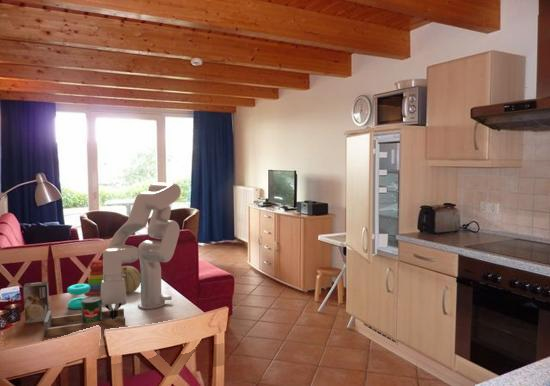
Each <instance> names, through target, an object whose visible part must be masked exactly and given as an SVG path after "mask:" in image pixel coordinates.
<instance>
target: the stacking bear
mask: <svg viewBox="0 0 550 386" xmlns="http://www.w3.org/2000/svg"><path fill="white" fill-rule="evenodd" d="M89 268H90V273H89V275H88V279H87V284H88V285H90V290H89V291H88V292H87V293H85V294H84V295H86V296H87V297H92V296H99V297H101V283H102V280H104V276H103V259H100V260H99V259H98V260H97V259H95V260H93V261H92V262H91V263H90V264H89Z"/></svg>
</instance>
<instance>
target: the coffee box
mask: <svg viewBox="0 0 550 386" xmlns="http://www.w3.org/2000/svg"><path fill="white" fill-rule="evenodd" d="M22 289H23V306H24V323H26V324H32V323H38V322H39V323H41V322H44V321H45V318H46V315H47V313H48V311H51V310H50V294H49V281H47V280H46V281H36V282H28V283H24V285H23V288H22Z"/></svg>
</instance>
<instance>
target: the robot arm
mask: <svg viewBox="0 0 550 386" xmlns="http://www.w3.org/2000/svg"><path fill="white" fill-rule="evenodd" d="M147 190H148V191H141V192H139V193H137V195H136V196H135V199H134V201H133V204H132V207H131V210H130V213H129V215H128V218H127V220H126V222H125V223H124V224H123V225H121V227H119V229H118V230H117V231H116V232H115V233H114V235H113V236H112V239H111V241H110V244H109V247H108V248H106V249H104V250H103V251H102V260H103V276H104V280H102V283H101V296H100V297H101V306H102V308H106V309H107V310H109V311H110V318H111V319H117V317H119V316H118V313H117V310H118V309H121V306H124V305H127V303H128V302H127V294H126V289H125V281H124V279H123V277H125V276H126V273H122V267H123V264H131V263H135V262H136V261H138V260H139V266H140V268H139V269H140V270H139V271H140V275H141V283H140V301H139V302H138V303H137V307H138V308H140V309H141V310H155V308H156V309H158V308H159V309H160V308H161V306H162V307H164V306H165V305H166V301H170V300H172V295H168V294H166V295H163V294H162V267H161V263H168V262H170V261H171V259H172V258H173V256H174V253H175V250H176V247H177V243H178V239H179V236H180V225H179V224H178V222H177V221H176V220H174V219H170V218H171V212H172V208H171V204H173V203H174V202H176V201H177V200H178V199H179V198H180V197H181V193H182V191H181V187H180V185H178V184H177V183H173V182H153V183H150V185H149V187H148V189H147ZM151 213H152V214H151ZM150 215H151V218H150ZM149 219H150V220H149ZM148 222H149V224H148ZM147 225H148V226H147ZM146 226H147V230H146V231H147V232H146V233H147V235H148V236H149V237H150V238H153V239H158V240H152V239H146V240H143V241H142V242H141V243H139V245H138V247H137V246H135V245H127V244H125V243H126V241H127V240H128V238H130V237H131V236H132V235H133V234H135V233H137V232H139V231H141V230H143V229H145V228H146ZM164 304H165V305H164ZM112 305H114V308H113V306H112ZM163 305H164V306H163ZM110 318H109V319H110Z"/></svg>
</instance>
